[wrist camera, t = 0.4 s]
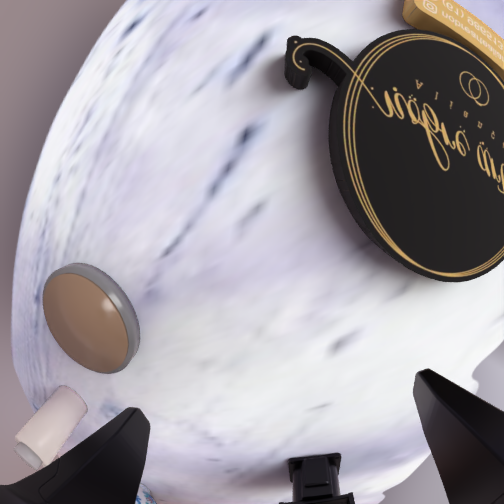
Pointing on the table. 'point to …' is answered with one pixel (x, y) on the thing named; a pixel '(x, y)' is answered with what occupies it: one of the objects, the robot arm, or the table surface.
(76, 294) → the display plinth
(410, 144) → the decorative sign
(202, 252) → the table surface
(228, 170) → the table surface
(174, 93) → the table surface
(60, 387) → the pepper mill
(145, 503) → the chinaware
